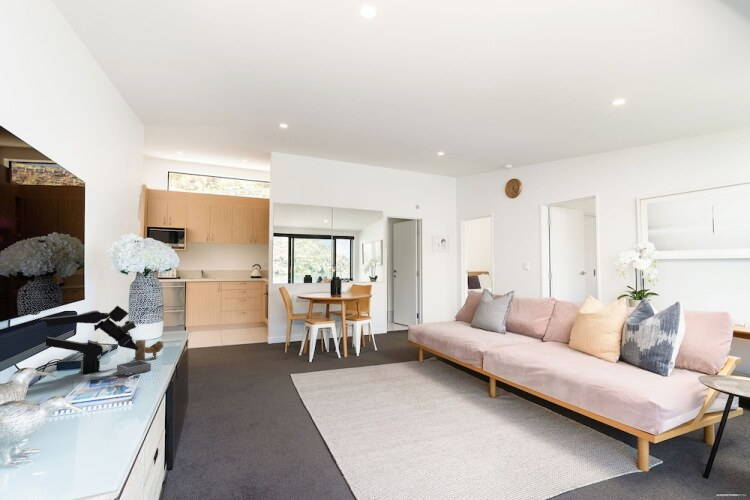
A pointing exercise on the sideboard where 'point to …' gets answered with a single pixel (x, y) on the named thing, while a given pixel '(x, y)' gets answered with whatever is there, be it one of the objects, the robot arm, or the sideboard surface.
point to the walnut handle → (140, 350)
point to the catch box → (133, 367)
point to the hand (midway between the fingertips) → (136, 347)
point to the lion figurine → (154, 348)
